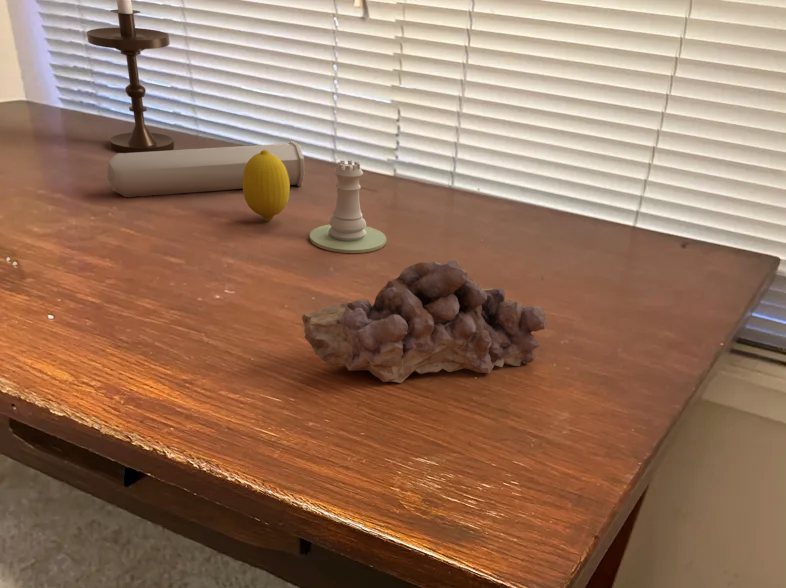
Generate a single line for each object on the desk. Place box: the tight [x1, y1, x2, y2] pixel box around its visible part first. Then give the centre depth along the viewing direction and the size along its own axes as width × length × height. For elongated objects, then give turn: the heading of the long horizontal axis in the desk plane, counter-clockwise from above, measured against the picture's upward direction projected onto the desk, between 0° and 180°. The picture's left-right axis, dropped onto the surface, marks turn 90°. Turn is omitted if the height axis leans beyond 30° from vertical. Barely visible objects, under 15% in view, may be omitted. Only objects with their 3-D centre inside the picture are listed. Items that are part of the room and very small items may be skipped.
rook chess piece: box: [328, 159, 367, 241], centre depth 93 cm, size 4×4×8 cm
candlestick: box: [86, 0, 175, 153], centre depth 110 cm, size 11×11×35 cm
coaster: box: [309, 224, 387, 254], centre depth 95 cm, size 9×9×1 cm
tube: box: [106, 140, 305, 198], centre depth 106 cm, size 5×5×25 cm
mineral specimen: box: [301, 260, 548, 384], centre depth 69 cm, size 20×10×10 cm
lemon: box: [242, 150, 291, 222], centre depth 96 cm, size 6×6×8 cm
